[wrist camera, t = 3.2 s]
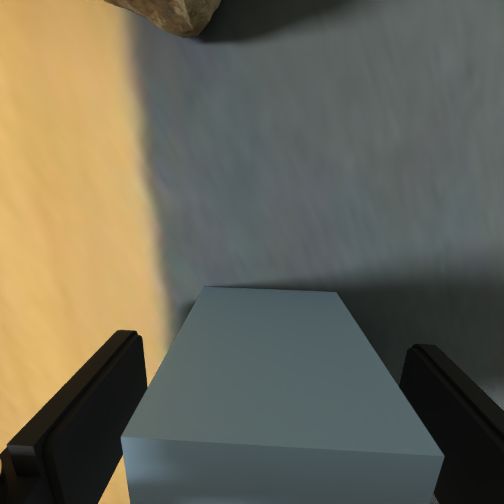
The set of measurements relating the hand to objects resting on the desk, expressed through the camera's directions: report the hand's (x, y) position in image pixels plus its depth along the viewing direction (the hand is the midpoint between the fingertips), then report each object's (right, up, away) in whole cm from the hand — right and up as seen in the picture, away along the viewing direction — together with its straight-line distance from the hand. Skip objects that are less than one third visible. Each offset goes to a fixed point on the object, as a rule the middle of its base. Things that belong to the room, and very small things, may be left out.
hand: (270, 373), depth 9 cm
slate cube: (0, 0, +2) cm, 2 cm away
